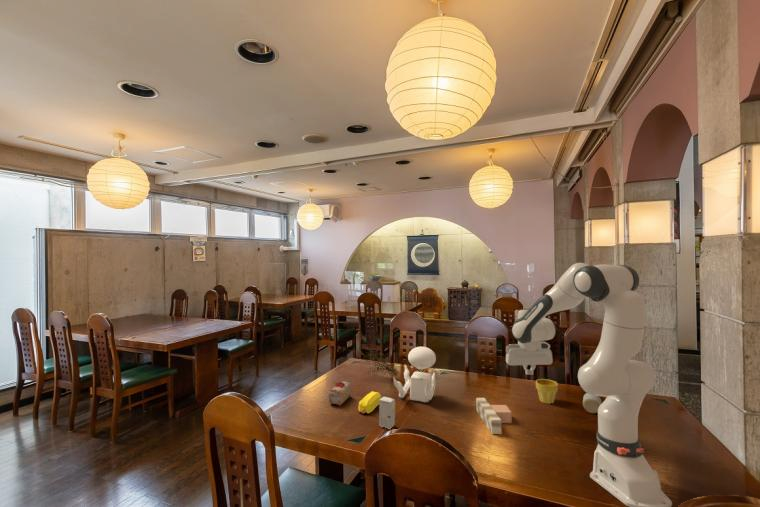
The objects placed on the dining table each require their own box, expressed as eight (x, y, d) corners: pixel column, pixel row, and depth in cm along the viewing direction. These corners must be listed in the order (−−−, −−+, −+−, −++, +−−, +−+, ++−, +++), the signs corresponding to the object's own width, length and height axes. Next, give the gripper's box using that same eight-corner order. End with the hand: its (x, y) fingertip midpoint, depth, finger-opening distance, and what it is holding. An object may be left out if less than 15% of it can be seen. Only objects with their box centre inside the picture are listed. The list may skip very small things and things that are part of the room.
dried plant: (414, 348, 223) (357, 315, 240) (394, 366, 195) (331, 328, 212) (398, 387, 230) (344, 353, 247) (377, 410, 202) (317, 370, 220)
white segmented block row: (501, 434, 148) (501, 420, 148) (492, 434, 148) (491, 420, 148) (484, 409, 172) (484, 397, 172) (476, 410, 172) (476, 397, 172)
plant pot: (560, 406, 174) (560, 386, 175) (538, 404, 177) (538, 385, 177) (554, 397, 185) (554, 379, 185) (534, 396, 187) (533, 378, 187)
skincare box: (378, 427, 156) (378, 399, 156) (383, 422, 160) (383, 396, 160) (391, 430, 153) (390, 402, 153) (395, 425, 157) (395, 398, 157)
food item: (341, 407, 178) (341, 387, 178) (327, 405, 180) (327, 386, 181) (352, 397, 191) (351, 378, 191) (338, 395, 193) (338, 377, 194)
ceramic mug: (582, 412, 167) (582, 396, 167) (583, 406, 174) (583, 390, 174) (609, 417, 161) (609, 401, 161) (608, 411, 168) (608, 395, 168)
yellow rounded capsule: (355, 414, 170) (369, 417, 167) (355, 400, 170) (369, 402, 167) (371, 400, 186) (384, 402, 183) (371, 387, 186) (384, 389, 183)
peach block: (511, 423, 158) (511, 412, 158) (493, 423, 158) (493, 412, 158) (506, 415, 166) (505, 404, 166) (489, 415, 166) (488, 404, 166)
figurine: (430, 411, 173) (431, 354, 173) (392, 404, 180) (393, 350, 180) (438, 393, 196) (439, 343, 196) (404, 388, 202) (405, 339, 202)
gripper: (508, 345, 156) (509, 377, 156) (553, 344, 156) (554, 375, 156) (503, 342, 163) (504, 372, 162) (546, 341, 163) (548, 371, 162)
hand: (529, 374), depth 159 cm, fingers closed
